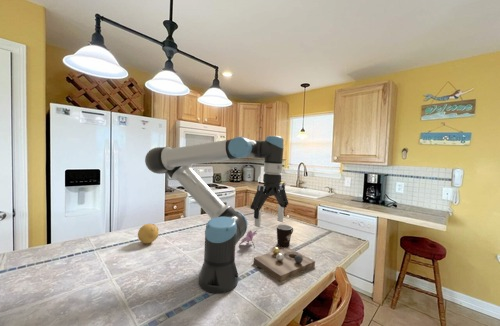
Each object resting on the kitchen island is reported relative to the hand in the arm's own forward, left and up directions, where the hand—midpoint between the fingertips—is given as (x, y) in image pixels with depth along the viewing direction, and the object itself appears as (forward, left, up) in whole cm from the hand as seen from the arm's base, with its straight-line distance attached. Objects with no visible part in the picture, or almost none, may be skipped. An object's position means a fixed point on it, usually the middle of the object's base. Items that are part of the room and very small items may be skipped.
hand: (269, 223), depth 90 cm
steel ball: (+7, 0, -16) cm, 18 cm away
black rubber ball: (+13, -6, -16) cm, 22 cm away
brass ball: (+10, +5, -16) cm, 20 cm away
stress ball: (-36, +54, -21) cm, 68 cm away
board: (+10, 0, -20) cm, 23 cm away
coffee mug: (+27, +15, -21) cm, 37 cm away
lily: (+9, +24, -21) cm, 33 cm away
